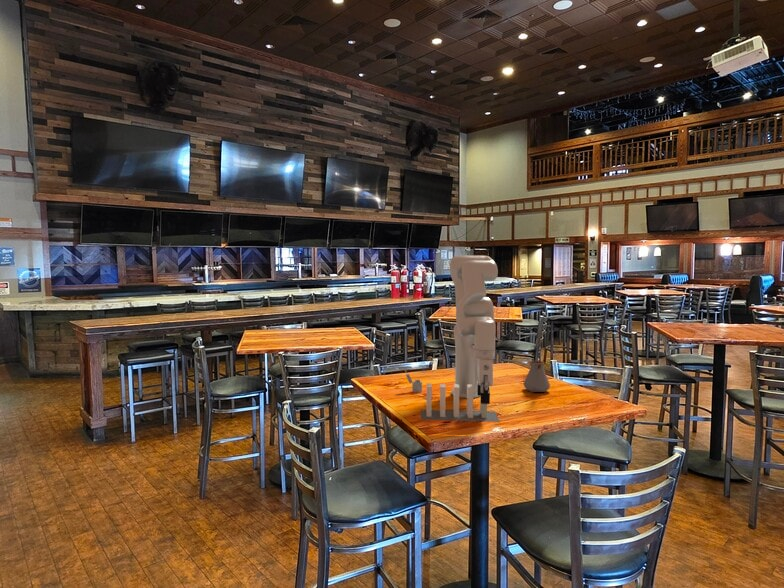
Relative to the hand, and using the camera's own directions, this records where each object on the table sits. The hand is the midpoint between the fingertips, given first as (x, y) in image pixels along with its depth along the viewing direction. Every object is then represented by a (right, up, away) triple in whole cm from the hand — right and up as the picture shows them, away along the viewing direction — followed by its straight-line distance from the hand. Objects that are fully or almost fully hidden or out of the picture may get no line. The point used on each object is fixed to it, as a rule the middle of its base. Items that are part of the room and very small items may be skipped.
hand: (483, 399), depth 175 cm
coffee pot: (+30, -5, +32) cm, 44 cm away
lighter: (-24, -4, +35) cm, 42 cm away
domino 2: (-15, -6, +1) cm, 16 cm away
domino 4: (-5, -6, 0) cm, 8 cm away
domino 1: (-20, -6, +1) cm, 21 cm away
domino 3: (-10, -6, 0) cm, 12 cm away
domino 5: (0, -6, 0) cm, 6 cm away
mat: (-9, -6, 0) cm, 11 cm away
